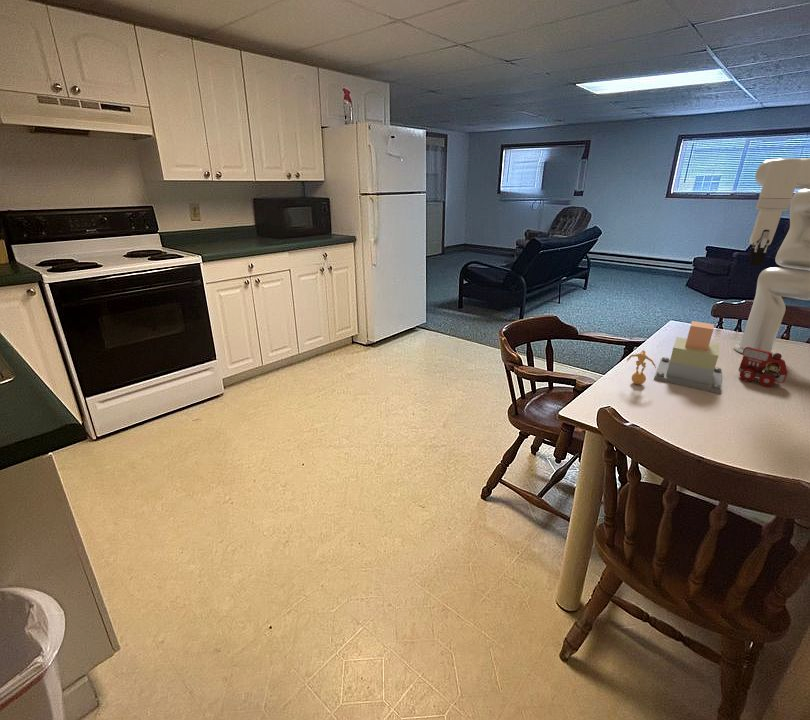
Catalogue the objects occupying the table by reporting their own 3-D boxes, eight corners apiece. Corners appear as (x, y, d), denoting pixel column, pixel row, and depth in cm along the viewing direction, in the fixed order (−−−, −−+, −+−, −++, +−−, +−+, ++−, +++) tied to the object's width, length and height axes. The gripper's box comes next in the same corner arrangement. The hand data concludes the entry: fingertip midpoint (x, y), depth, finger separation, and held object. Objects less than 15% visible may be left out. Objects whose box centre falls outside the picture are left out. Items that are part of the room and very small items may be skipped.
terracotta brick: (686, 341, 144) (691, 321, 142) (707, 345, 141) (714, 324, 138) (685, 346, 140) (690, 325, 137) (707, 350, 137) (713, 329, 134)
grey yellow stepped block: (660, 361, 156) (667, 332, 152) (720, 373, 147) (730, 343, 143) (653, 379, 142) (661, 348, 138) (720, 393, 133) (730, 361, 129)
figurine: (653, 385, 138) (662, 350, 133) (647, 392, 134) (656, 355, 129) (625, 378, 143) (633, 343, 138) (619, 384, 139) (627, 348, 134)
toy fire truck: (779, 390, 135) (791, 359, 131) (732, 378, 144) (741, 348, 140) (784, 384, 140) (795, 354, 136) (738, 372, 148) (747, 343, 144)
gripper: (755, 203, 137) (739, 258, 144) (758, 205, 124) (740, 266, 130) (786, 203, 133) (767, 260, 140) (792, 206, 120) (771, 269, 126)
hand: (754, 263), depth 135 cm, fingers open, 9 cm apart
